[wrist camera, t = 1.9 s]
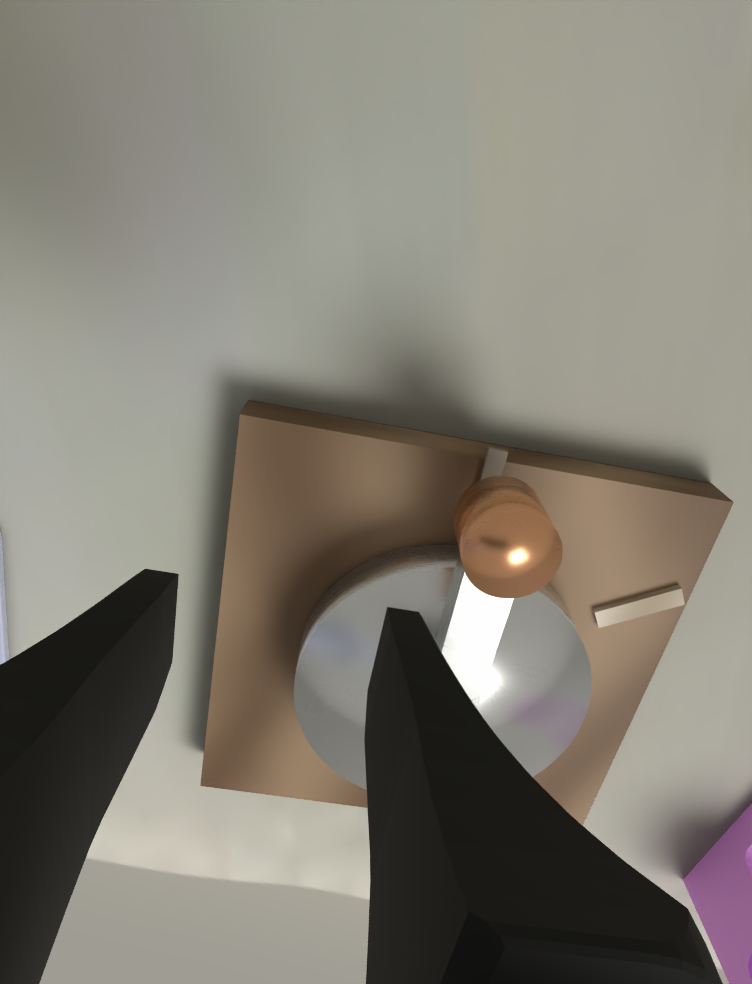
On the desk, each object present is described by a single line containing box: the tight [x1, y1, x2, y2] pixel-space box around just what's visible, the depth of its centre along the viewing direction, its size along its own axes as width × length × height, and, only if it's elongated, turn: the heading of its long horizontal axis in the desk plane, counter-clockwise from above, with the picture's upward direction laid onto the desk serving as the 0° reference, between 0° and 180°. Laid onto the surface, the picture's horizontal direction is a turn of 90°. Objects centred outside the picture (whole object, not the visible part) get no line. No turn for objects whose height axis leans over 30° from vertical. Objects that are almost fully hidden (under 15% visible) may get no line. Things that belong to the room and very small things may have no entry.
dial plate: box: [201, 400, 734, 826], centre depth 24 cm, size 16×16×2 cm
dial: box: [294, 476, 592, 790], centre depth 21 cm, size 13×10×4 cm
